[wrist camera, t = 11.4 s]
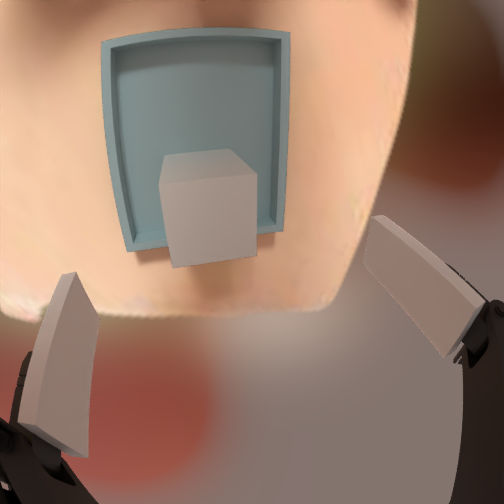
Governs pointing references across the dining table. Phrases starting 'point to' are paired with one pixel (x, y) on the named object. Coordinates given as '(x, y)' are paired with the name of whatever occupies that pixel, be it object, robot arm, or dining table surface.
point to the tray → (194, 115)
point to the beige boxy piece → (208, 207)
